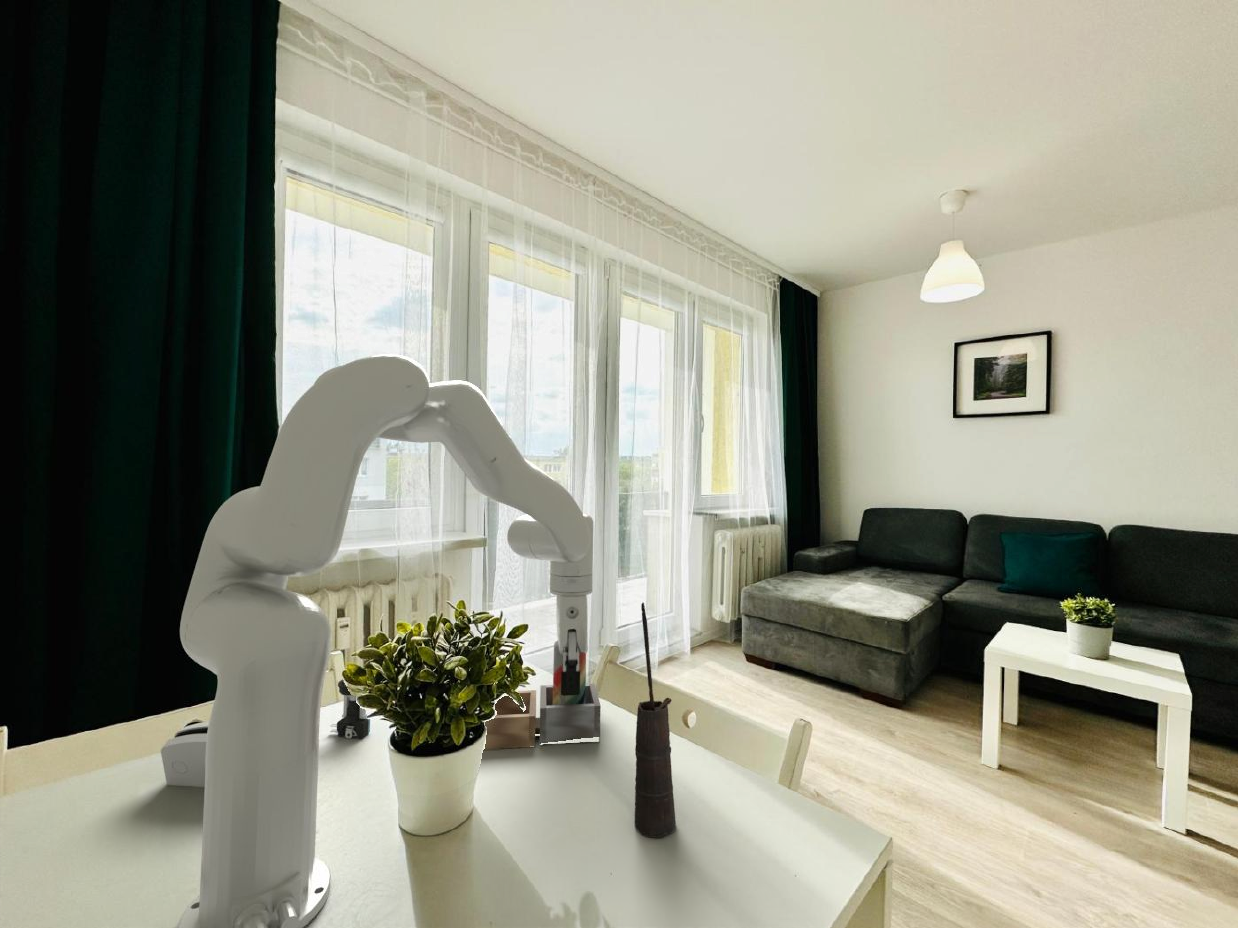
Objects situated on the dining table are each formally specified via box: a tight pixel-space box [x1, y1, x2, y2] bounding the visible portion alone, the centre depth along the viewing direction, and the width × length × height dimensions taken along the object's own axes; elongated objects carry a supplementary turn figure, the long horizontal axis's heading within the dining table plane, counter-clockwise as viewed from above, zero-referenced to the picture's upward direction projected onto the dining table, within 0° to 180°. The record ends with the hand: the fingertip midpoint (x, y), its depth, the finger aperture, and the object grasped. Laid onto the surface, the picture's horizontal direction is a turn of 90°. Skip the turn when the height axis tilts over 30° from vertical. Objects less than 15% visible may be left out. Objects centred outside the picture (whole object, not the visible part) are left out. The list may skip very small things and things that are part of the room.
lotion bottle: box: [552, 630, 587, 705], centre depth 93 cm, size 6×6×20 cm
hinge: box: [160, 721, 209, 788], centre depth 75 cm, size 17×5×10 cm, turn 86°
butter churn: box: [634, 602, 677, 838], centre depth 68 cm, size 9×10×28 cm
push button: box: [330, 679, 371, 740], centre depth 90 cm, size 7×5×10 cm
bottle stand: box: [484, 682, 601, 751], centre depth 92 cm, size 22×11×6 cm, turn 98°
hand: (569, 686), depth 93 cm, fingers closed on lotion bottle, 5 cm apart
